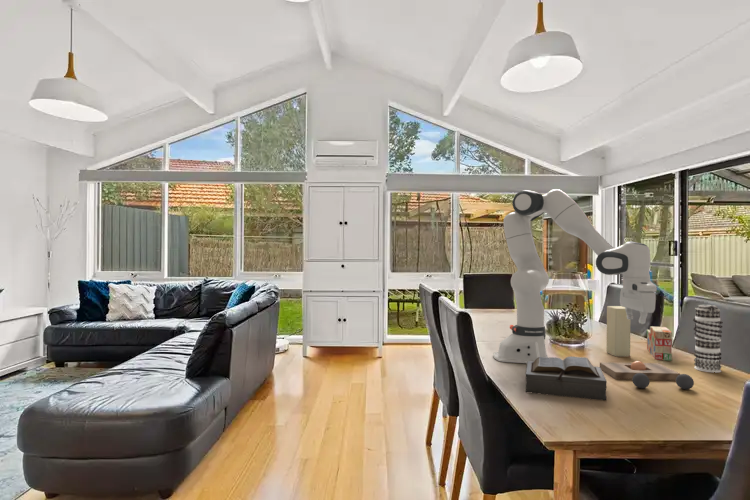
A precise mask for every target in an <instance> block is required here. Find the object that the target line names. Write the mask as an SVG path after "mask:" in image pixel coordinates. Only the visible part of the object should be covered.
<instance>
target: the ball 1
mask: <svg viewBox="0 0 750 500" xmlns="http://www.w3.org/2000/svg"><path fill="white" fill-rule="evenodd" d="M631 380H632V383H633V385H634V386H635V387H636V388H639V389H646V388H647V387H648V386H650V382H651V380H649V378H648V377H647V376H646V375H645V374H643V373H637V374H635V375H634V376H633V378H632V379H631Z"/></svg>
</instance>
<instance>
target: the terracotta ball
mask: <svg viewBox="0 0 750 500" xmlns="http://www.w3.org/2000/svg"><path fill="white" fill-rule="evenodd" d="M631 363H632V364H631V369H632V370H646V366H645V364H644V362H643V361H640V360H635V361H633V362H631Z"/></svg>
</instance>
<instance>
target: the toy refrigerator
mask: <svg viewBox="0 0 750 500" xmlns="http://www.w3.org/2000/svg"><path fill="white" fill-rule="evenodd" d="M631 322H632V321H631V320H629V319H627V314H626V311H625V307H624V306H621V305H607V306H606V353H608V354H609V355H612V356H614V357H631Z"/></svg>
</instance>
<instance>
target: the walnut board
mask: <svg viewBox="0 0 750 500" xmlns="http://www.w3.org/2000/svg"><path fill="white" fill-rule="evenodd" d="M632 363H633V362H611V361H610V362H609V361H608V362H607V361H606V362H605V361H604V362H603V361H602V362H600V361H599V367H600V368H601V371H602V372H603V373H606V374H607V375H609V376H610V377H612V378H613V379H615V380H632V378H633V376H634V375H635V374H637V373H643V374H645V375H646V376H647V377H648V378H649V381H676V378H677V376H678V375H680V374H681V373H680V372H678V371H675V370H673V369H671V368H669V367H667V366H665V365H663V364H661V363H657V362H653V363H651V362H645V363H644V362H643V363H644V364H645V366H646V370H632V369H631V364H632Z"/></svg>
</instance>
